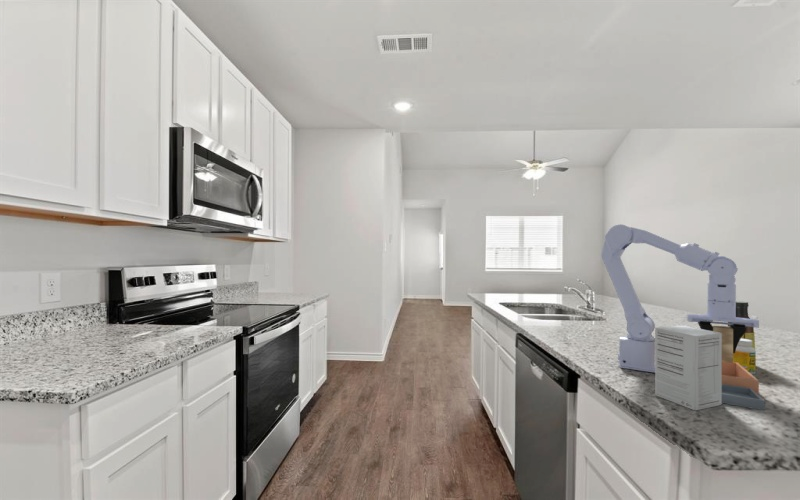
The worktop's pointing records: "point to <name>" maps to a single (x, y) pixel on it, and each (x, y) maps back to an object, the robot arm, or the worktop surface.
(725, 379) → the peach storage tray
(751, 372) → the supplement bottle
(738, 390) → the slate tray
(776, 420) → the worktop surface
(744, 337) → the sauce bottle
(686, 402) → the supplement box
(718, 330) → the maple peg
